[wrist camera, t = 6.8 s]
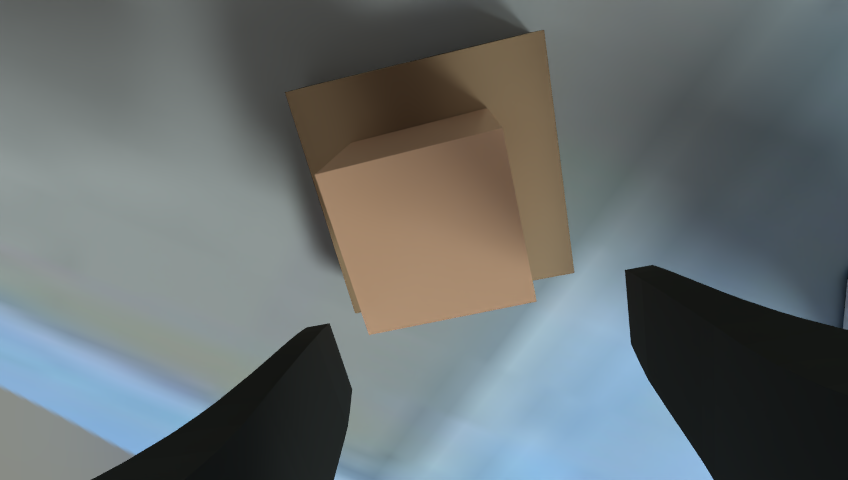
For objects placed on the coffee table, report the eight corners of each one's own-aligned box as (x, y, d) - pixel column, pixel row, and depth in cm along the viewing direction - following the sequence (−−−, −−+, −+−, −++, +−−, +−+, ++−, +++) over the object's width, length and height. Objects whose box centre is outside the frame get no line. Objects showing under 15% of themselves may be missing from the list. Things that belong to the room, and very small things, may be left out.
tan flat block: (528, 32, 18) (543, 29, 16) (556, 244, 22) (574, 272, 19) (307, 86, 19) (285, 92, 17) (365, 280, 23) (355, 313, 20)
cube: (487, 107, 17) (502, 127, 12) (513, 238, 18) (536, 301, 14) (350, 142, 17) (314, 174, 13) (388, 266, 19) (369, 334, 14)
